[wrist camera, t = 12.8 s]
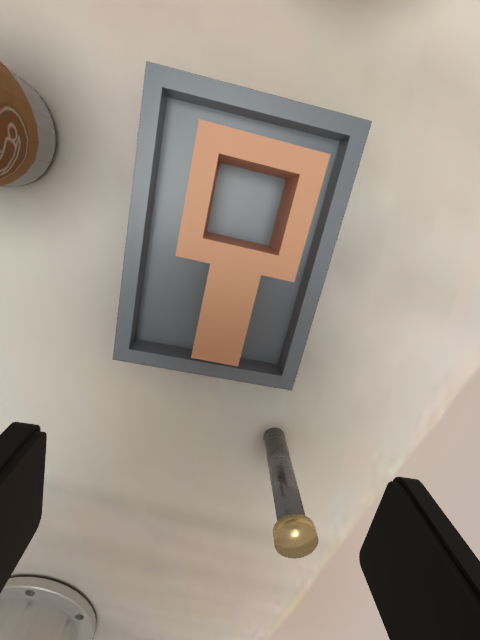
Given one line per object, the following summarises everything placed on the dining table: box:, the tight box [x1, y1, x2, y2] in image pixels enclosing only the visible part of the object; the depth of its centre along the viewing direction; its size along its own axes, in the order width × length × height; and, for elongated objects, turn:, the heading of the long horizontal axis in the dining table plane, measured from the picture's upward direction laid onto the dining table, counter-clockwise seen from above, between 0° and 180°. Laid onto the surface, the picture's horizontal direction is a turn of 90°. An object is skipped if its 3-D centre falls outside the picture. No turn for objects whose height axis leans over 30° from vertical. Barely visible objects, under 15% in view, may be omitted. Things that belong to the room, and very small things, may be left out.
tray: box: [113, 61, 372, 390], centre depth 23 cm, size 18×13×2 cm
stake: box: [264, 428, 318, 558], centre depth 25 cm, size 3×3×10 cm
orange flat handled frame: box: [175, 119, 331, 367], centre depth 22 cm, size 7×13×4 cm, turn 167°
